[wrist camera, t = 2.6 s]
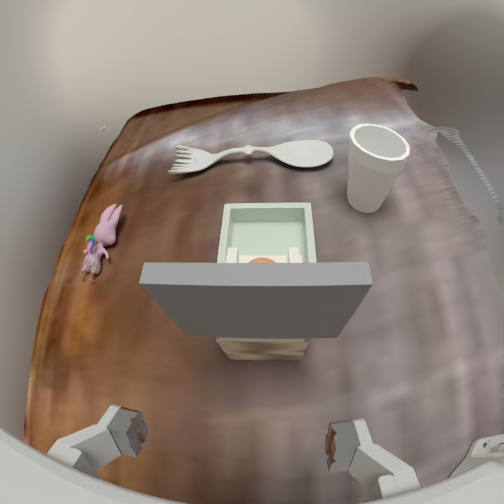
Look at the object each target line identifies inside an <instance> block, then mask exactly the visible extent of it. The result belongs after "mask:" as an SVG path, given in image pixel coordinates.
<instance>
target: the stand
mask: <svg viewBox="0 0 504 504" xmlns="http://www.w3.org/2000/svg"><path fill="white" fill-rule="evenodd" d="M224 263H226V262H224ZM302 263H305V262H302ZM216 342H217V343H218V344H219V346H220V347H221V348H222V350H223V351H224V352H225V354H226V355H227V356H228V357H229V359H241V360H301V359H302V357H303V354H304V352H305V350H306V348H307V345H308V343H309V338H307V339H305V340H304V342H242V341H220V339H219V338H218V337H216Z"/></svg>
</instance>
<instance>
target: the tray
mask: <svg viewBox="0 0 504 504" xmlns="http://www.w3.org/2000/svg"><path fill="white" fill-rule="evenodd" d="M289 247H299V255H302V262H305V263H316V252H315V241H314V231H313V221H312V212H311V204H310V203H241V204H225V206H224V214H223V221H222V228H221V236H220V243H219V251H218V259H217V263H224V262H226V255H227V252H228V248H238V252H239V255H289Z"/></svg>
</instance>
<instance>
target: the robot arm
mask: <svg viewBox="0 0 504 504" xmlns="http://www.w3.org/2000/svg"><path fill="white" fill-rule="evenodd" d="M143 418H144V415H143V413H142V412H140V411H137V410H132V409H128V408H124V407H120V406H116V405H111V406H110V407H109V408H108V410H107V411H106V413H105V414H104V415H103V417H102V418H101V420H100V421H99V423H98V424H97V425H92V426H90V427H87V428H85V429H83V430H80V431H78V432H76V433H73V434H71V435H68V436H66V437H63V438H61V439H58V440H57V441H56V442H55V444H54V445H53V446H52V448H51V449H50V450H49V451H48V453H47V454H46V455H45V454H44V453H42V452H40V451H38V450H36V449H35V448H33V447H31V446H29V445H28V444H26V443H24V442H23V441H21V440H20V439H18V438H16V437H15V436H13V435H12V434H10V433H9V432H7V431H6V430H4V429H3V428H1V427H0V504H188V503H182V502H177V501H172V500H168V499H163V498H159V497H155V496H151V495H147V494H143V493H140V492H136V491H133V490H130V489H126V488H123V487H120V486H117V485H114V484H111V483H109V482H106V481H103V480H100V478H99V477H98V476H97V474H96V473H95V471H97V470H98V469H100V468H102V467H103V466H105V465H106V464H108V463H109V462H111V461H112V460H114V459H115V458H117V457H118V456H120V455H121V454H124V455H128V456H132V457H136V458H137V457H138V455H139V453H140V451H141V449H142V446H141V444H142V443H143V442H145V441H146V439H147V436H148V427H147V424H146V423H145V422H144V421H143ZM483 444H484V446H483ZM325 451H326V454H327V455H328V459H327V464H328V471H329V472H339V471H348V472H349V473H350V474H351V475H352V476H353V477H354V478H355V479H356V480H357V481H358V482H359V483H360V484H361V485H363V486H364V487H365V488H366V489H367V490H368V491H369V492H370V494H369V495H368V497H367V498H366V500H365V501H364V503H358V504H504V433H502V434H497V435H493V436H488V437H482V438H478V439H476V440H475V441H474V442H473V443H472V445H471V447H470V449H469V451H468V453H467V455H466V457H465V459H464V460H463V461H462V463H461V464H460V465H459V466H458V467H457V468H456V469H455V470H454V472H453V473H452V474H451V475H450V477H449V478H447V479H444V480H442V481H439V482H436V483H434V484H431V485H428V486H425V487H422V488H421V487H420V484H419V482H418V479H417V477H416V474H415V472H414V469H413V468H412V467H411V466H409V465H408V464H406V463H404V462H403V461H401V460H400V459H398V458H397V457H395V456H394V455H392V454H391V453H389V452H388V451H386V450H385V449H383V448H382V447H380V446H379V445H377V444H373V442H372V439H371V436H370V433H369V430H368V427H367V425H366V422H365V420H364V419H356V420H347V421H339V422H330V423H329V425H328V434H326V438H325Z"/></svg>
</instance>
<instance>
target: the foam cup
mask: <svg viewBox="0 0 504 504" xmlns="http://www.w3.org/2000/svg"><path fill="white" fill-rule="evenodd" d="M348 149H349V163H348V187H347V199H348V202H349V204H350V205H351V206H352V207H353V208H354V209H356V210H358V211H360V212H364V213H372V212H376V211H377V210H378V209H379V208H380V206H381V205H382V203H383V202H384V200H385V198H386V197H387V195H388V193H389V191H390V190H391V188H392V186H393V184H394V183H395V181H396V179H397V177H398V176H399V174H400V172H401V170H402V169H403V168H404V167H405V165H406V163H407V160H408V157H409V151H410V147H409V145H408V144H407V142H406V140H405V139H404V138H403V137H402V136H400V135H399V134H398V133H396V132H395V131H393V130H391V129H389V128H386V127H384V126H380V125H375V124H360V125H358V126H356V127H354V128H352V130H351V133H350V137H349V143H348Z"/></svg>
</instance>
